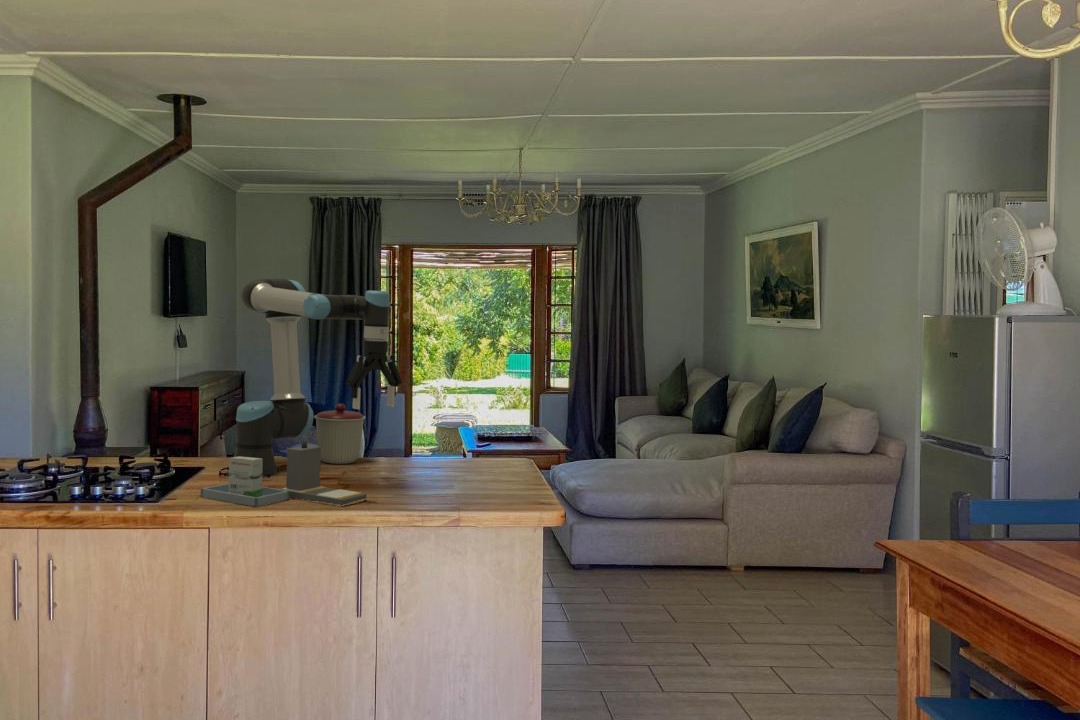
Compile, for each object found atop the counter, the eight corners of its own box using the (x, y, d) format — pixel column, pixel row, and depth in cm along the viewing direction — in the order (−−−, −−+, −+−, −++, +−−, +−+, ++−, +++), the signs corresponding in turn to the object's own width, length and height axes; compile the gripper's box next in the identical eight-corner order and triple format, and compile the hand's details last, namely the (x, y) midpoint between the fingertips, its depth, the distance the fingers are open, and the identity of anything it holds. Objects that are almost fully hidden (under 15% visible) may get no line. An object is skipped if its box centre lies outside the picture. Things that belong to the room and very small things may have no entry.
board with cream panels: (278, 496, 305) (278, 488, 305) (303, 490, 315) (304, 483, 314) (342, 507, 293) (342, 499, 293) (366, 501, 303) (366, 493, 303)
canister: (339, 468, 356) (340, 407, 355) (302, 461, 366) (303, 402, 365) (374, 462, 371) (376, 404, 370) (338, 456, 381) (339, 399, 380)
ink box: (263, 498, 301) (263, 457, 300) (253, 501, 296) (254, 460, 295) (237, 495, 304) (238, 455, 303) (227, 497, 299) (228, 457, 298)
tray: (200, 497, 299) (200, 488, 299) (235, 490, 311) (235, 482, 311) (255, 507, 289) (256, 498, 289) (289, 499, 301) (289, 491, 300)
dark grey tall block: (286, 488, 305) (287, 442, 304) (306, 484, 313) (308, 438, 312) (299, 490, 302) (300, 443, 301) (319, 486, 310) (320, 440, 309)
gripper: (351, 341, 309) (348, 411, 311) (414, 340, 328) (411, 406, 329) (336, 339, 314) (333, 408, 316) (399, 339, 333) (396, 404, 334)
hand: (373, 407), depth 323 cm, fingers open, 13 cm apart
